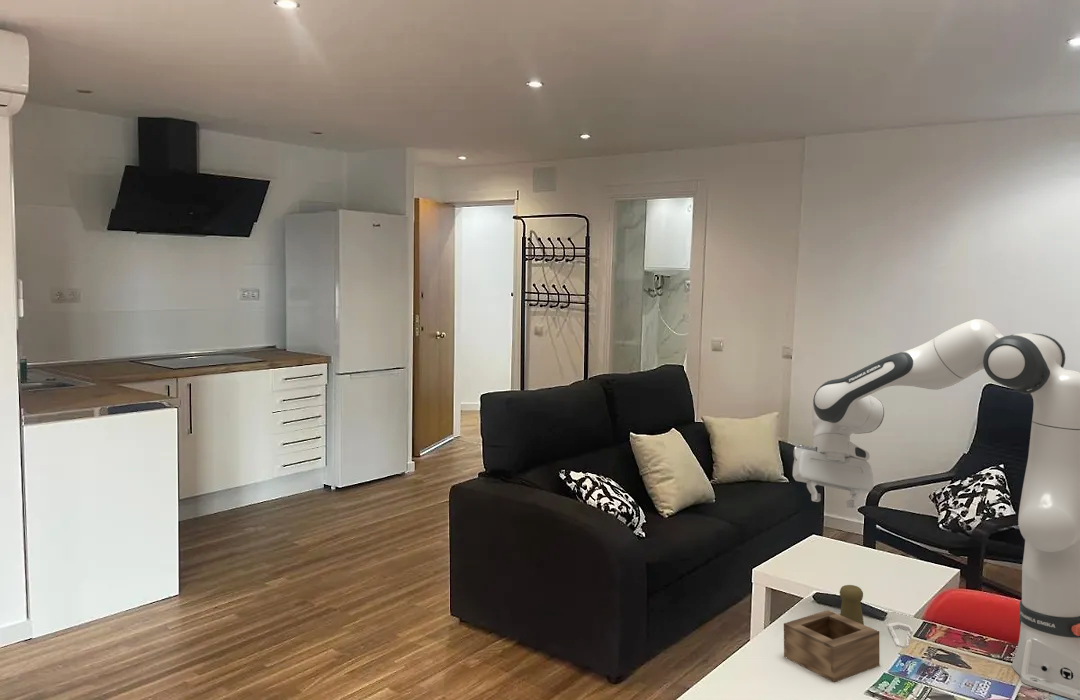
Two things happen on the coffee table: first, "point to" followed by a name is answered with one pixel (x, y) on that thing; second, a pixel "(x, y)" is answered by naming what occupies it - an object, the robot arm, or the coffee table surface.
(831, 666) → the walnut box
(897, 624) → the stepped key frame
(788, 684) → the coffee table surface
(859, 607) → the cork
